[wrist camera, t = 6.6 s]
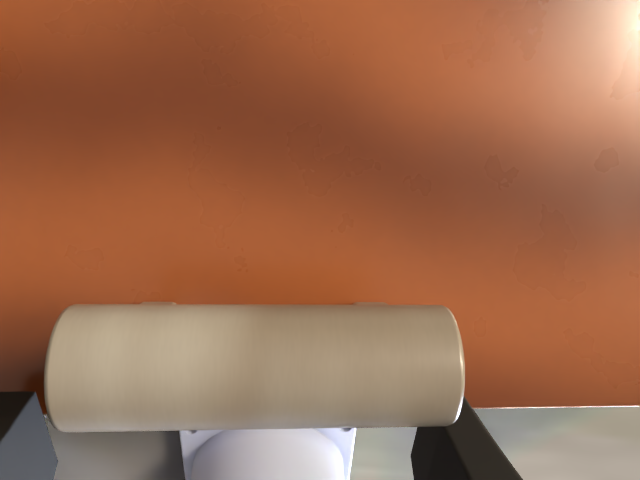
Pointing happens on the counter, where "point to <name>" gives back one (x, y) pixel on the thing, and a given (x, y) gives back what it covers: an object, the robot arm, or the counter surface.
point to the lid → (318, 210)
